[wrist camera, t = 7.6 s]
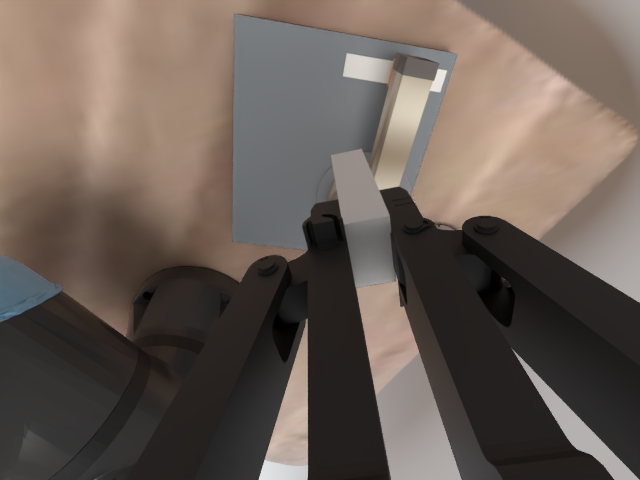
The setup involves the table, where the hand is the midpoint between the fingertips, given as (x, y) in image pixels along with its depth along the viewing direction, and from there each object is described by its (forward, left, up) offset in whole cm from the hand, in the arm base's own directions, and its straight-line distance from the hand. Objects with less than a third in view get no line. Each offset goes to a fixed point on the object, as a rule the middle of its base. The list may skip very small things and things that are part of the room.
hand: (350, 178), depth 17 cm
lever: (-3, -4, -14) cm, 14 cm away
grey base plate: (-4, 0, -16) cm, 16 cm away
